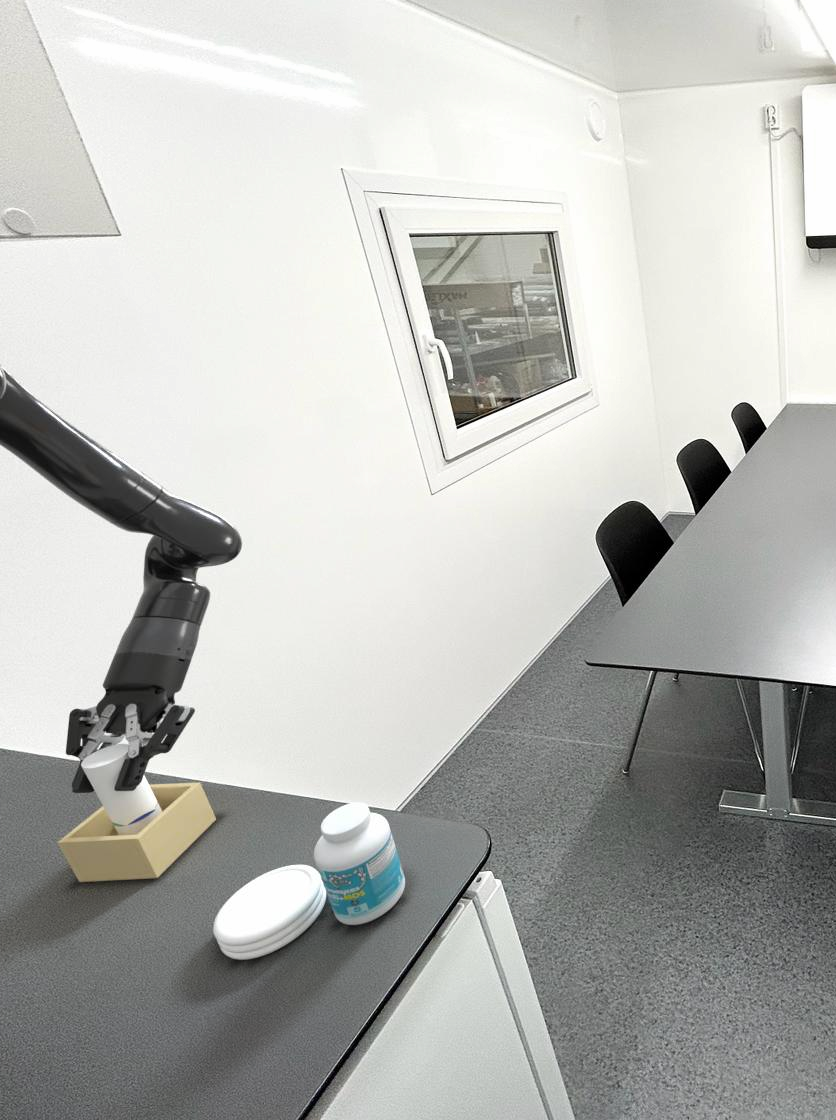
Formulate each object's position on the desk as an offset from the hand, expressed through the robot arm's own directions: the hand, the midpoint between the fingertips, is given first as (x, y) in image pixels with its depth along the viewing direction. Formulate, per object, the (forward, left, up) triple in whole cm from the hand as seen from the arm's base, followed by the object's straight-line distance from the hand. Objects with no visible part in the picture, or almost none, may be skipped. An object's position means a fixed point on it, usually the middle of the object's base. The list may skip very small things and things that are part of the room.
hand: (104, 791), depth 78 cm
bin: (0, +2, -12) cm, 12 cm away
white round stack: (+24, -10, -12) cm, 29 cm away
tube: (0, +2, -11) cm, 11 cm away
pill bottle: (+34, -8, -12) cm, 37 cm away
